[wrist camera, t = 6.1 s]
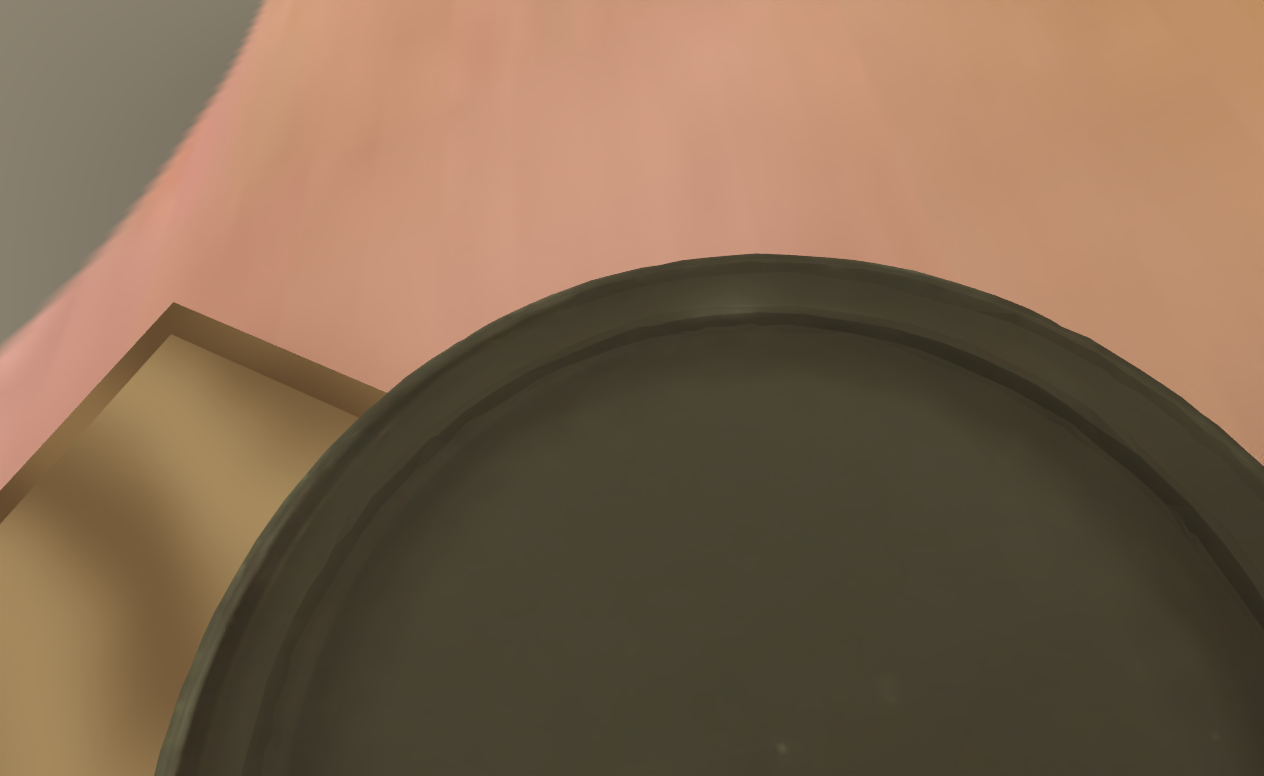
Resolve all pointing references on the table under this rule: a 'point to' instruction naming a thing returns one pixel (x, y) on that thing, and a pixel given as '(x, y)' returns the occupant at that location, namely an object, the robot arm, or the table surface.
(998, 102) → the table surface
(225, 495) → the walnut board
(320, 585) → the coffee can
